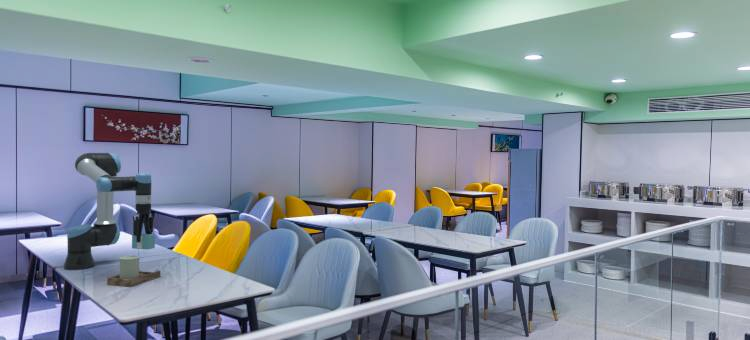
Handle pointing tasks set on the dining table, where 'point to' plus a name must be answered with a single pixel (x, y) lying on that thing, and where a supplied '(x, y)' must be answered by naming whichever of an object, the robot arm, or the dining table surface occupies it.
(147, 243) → the wing block
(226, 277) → the dining table surface
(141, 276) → the cradle jig
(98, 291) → the dining table surface
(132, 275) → the can
